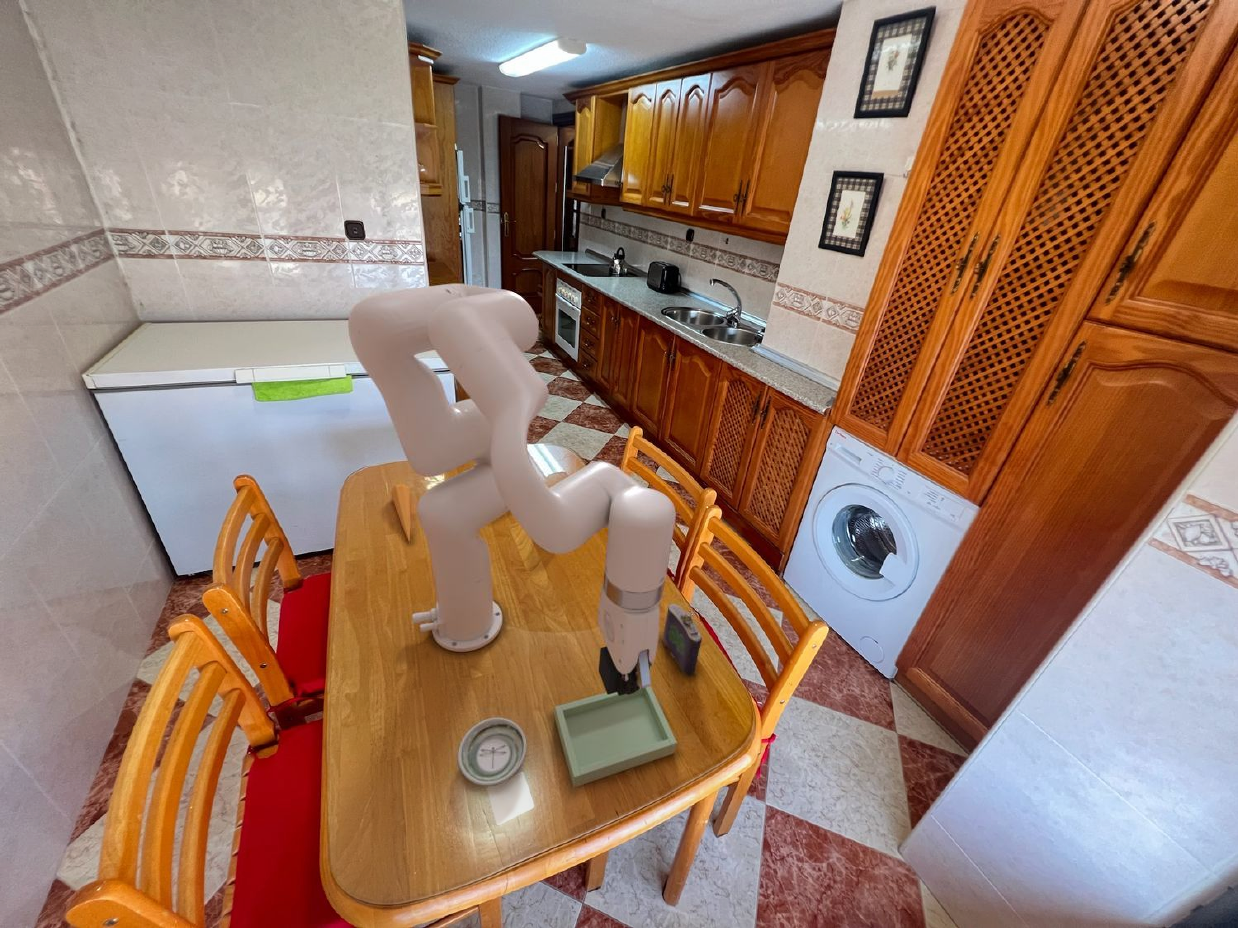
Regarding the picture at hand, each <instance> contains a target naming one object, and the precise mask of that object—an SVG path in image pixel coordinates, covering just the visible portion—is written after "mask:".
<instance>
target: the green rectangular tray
mask: <svg viewBox="0 0 1238 928" xmlns="http://www.w3.org/2000/svg"><path fill="white" fill-rule="evenodd" d="M554 720H555V721H554V722H555V724H556V728H557V732H558V737H559V739H560V743H561V747H562V750H563V754H564V758H565V762H566V765H567V770H568V774H569V777H570V781H571V784H572V788H577V787H579V786H582V785H585V784H588V783H591V782H594V781H597V780H600V779H603V778H606V777H609V776H612V775H614V774H617V773H621V772H623V771H626V770H629V769H632V768H635V767H638V766H640V765H645V764H646V763H650V762H653V761H655V760H659V759H662V758H664V757H667V756H671V755H673V754H675V752H676V749H677V744H678V742H677V740H676V737H675V735H674V733H673V731H672V728H671V727H670V724H669V722H668V720H667V718H666V716H665V714H664V711H663V709H662V707H661V705H660V703H659V701H658V698H657V696H656V694H655V692H654V689H653V688H652V685H651V686H649V687H646V688H642V689H641V688H640V689H639V690H638V691H636V692H635V693H633V694H629V695H627V694H624V695H621V696H619V695H618V693H617V692H616V693H612V694H609V695H607V692H606V691H605V692H603V693H599V694H595V695H592V696H589V697H584V698H580V699H578V700H574V701H571V702H567V703H563V704H561V705H560V704H559V705H556V706H554Z"/></svg>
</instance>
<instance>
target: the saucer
mask: <svg viewBox="0 0 1238 928" xmlns="http://www.w3.org/2000/svg"><path fill="white" fill-rule="evenodd" d="M527 749H528V742H527V737H526V735H525V732H524V730H523V729H522V727H521V726H520V725H519V724H518V723H516V722H515V721H514V720H511V719H508V718H505V717H490V718H487V719H484V720H482V721H479V722H478V723H476V724H475V725H474V726H472V727H470V729H469V730H468V731H467V732H466V733H465V735H464V736H463V738H462V740H461V742H460V743H459V747H458V750H457V764H458V767H459V770H460V772H461V774H462V776H463V777H464V778H465V779H467V780H468V782H470V783H472V784H474V785H477V786H480V787H493V786H499V785H501V784H503V783H505V782H507V781H509V780H510V779H511V778H513V776H514V775H516V774H517V773H518V771H519V770H520V769H521V767H522V766H523V764H524V761H525V760H526V759H525V758H526V755H527Z"/></svg>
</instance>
